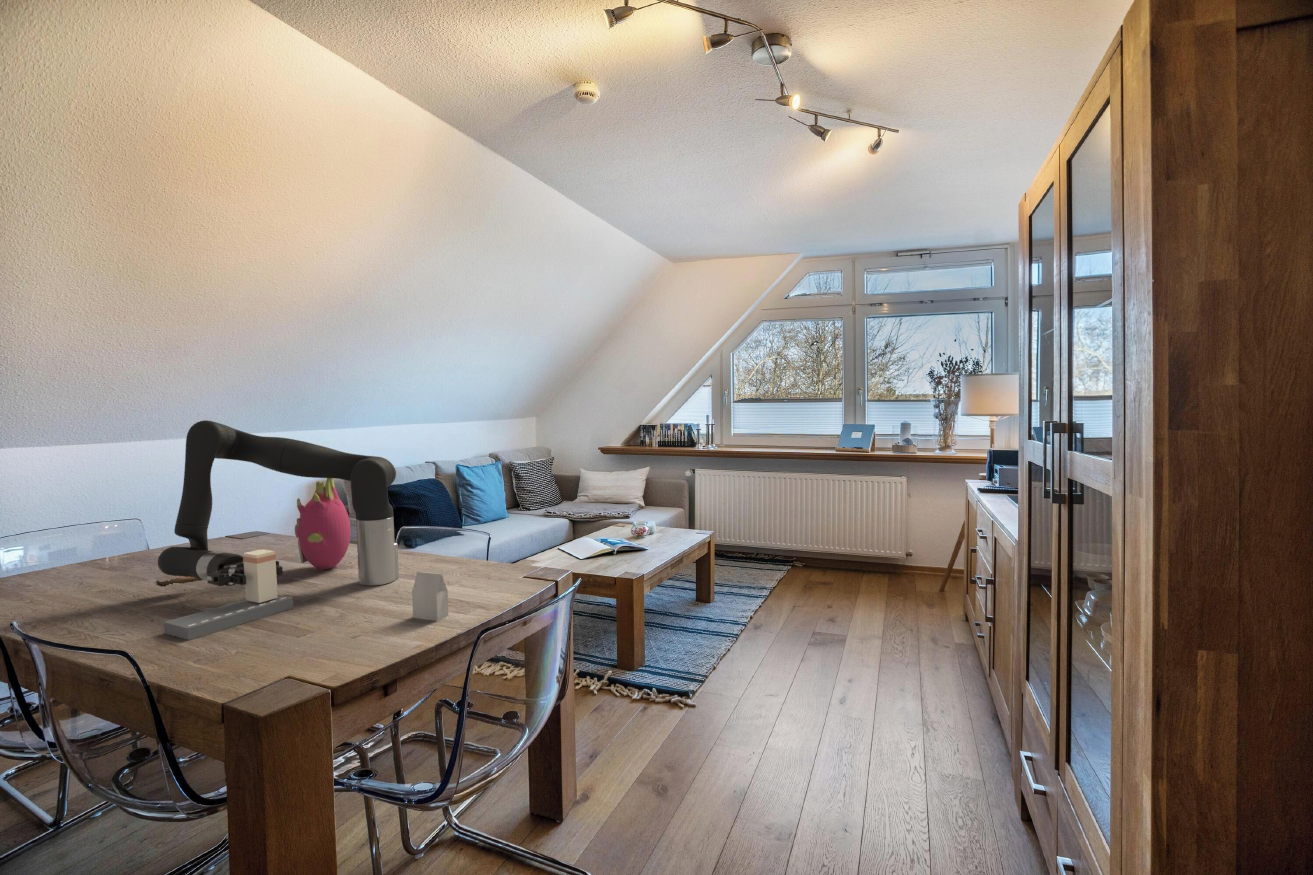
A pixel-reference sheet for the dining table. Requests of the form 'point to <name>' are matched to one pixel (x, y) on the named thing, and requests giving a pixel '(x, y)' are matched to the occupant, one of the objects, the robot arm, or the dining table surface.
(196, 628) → the toy road segment
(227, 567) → the robot arm
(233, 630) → the dining table surface
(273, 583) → the cream block
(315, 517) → the pink dragon fruit
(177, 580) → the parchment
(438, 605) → the grey milk carton
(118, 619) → the dining table surface
